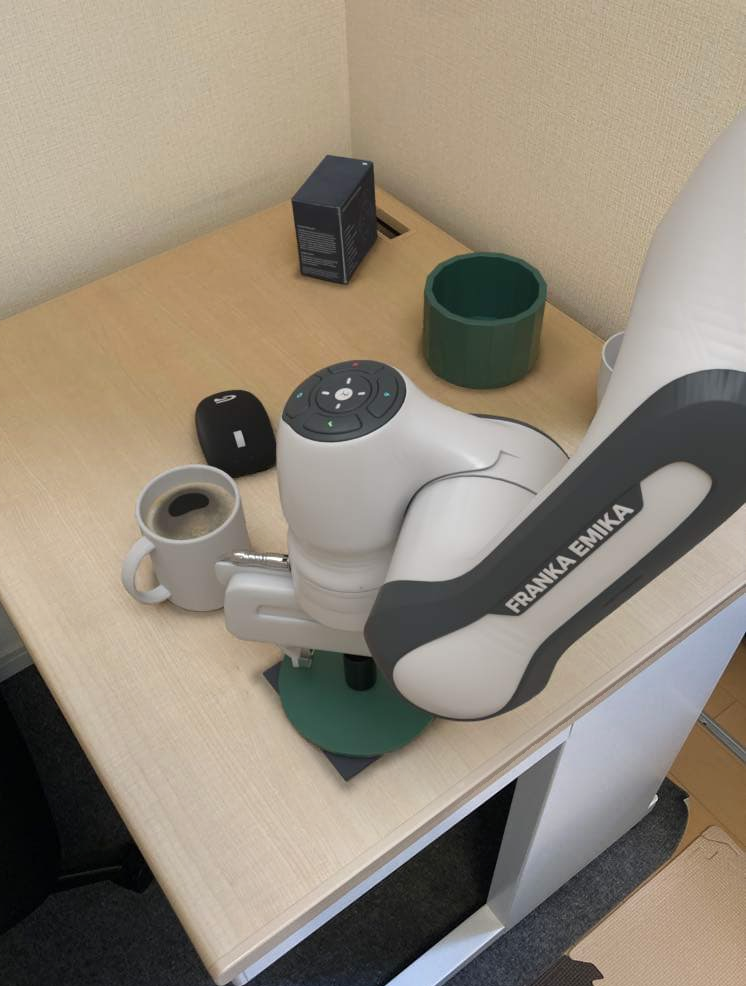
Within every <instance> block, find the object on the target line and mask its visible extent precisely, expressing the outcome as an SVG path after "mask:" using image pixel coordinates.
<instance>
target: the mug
mask: <svg viewBox="0 0 746 986" xmlns="http://www.w3.org/2000/svg"><path fill="white" fill-rule="evenodd" d="M134 513H135V518H136V521H137V524H138V527H139V530H140V533H141V535H142V537H140V538H139V539H138V540H136V542H135V543H133V545H132V546H131V547H130V548H129V550H128V551H127V552H126V553H127V554H126V556H125V558H124V560H123V564H122V567H121V582H122V583H121V584H122V585H123V588H124V590H125V591H126V592H127V593H128V594H129V595H130V596H131V597H132V598H133V599H134V600H135V601H136V602H138V603H139V604H141V605H145V606H146V605H147V606H151V605H156V604H160V603H163V602H164V601H166V600H168V601H169V602H171V603H172V604H173V605H175V606H177V607H179V608H180V609H184V610H186V611H193V612H210V611H215V610H216V611H217V610H219V609H222V608H224V598H225V593H226V588H225V587H223V586H222V585H221V584H220V583H219V582H218V580H217V576H216V572H215V566H214V563H215V560H216V559H217V558H218V556H221V555H223V554H229V553H231V552H232V550H235V549H245V550H250V551H251V552H253V551H252V546H251V542H250V537H249V531H248V526H247V522H246V518H245V517H246V516H245V512H244V507H243V502H242V497H241V493H240V489H239V486H238V485H237V483H236V482H235V480H234V478H231V477H230V476H229V475H228V474H226V473H225V472H223V471H222V470H220V469H217V468H215V467H212V466H208V464H200V463H199V464H198V463H197V464H196V463H193V464H191V463H190V464H183V465H178V466H174V467H172V468H169V469H166V470H164V471H163V472H161V473H159V474H157V475H155V477H153V478H151V479H150V480H149V481H148V482H147V483H146V484H145V485H144V487H143V488H142V489H141V491H140V492H139V494H138V496H137V500H136V503H135V509H134ZM147 555H148V556H149V559H150V561H151V564H152V567H153V570H154V573H155V576H156V578H157V581H158V584H159V585H158V586H156V587H155V588H153V589H150V590H147V591H141V590H138V589H137V586H136V576H137V572H138V570H139V567H140V565H141V564H142V562H143V560H144V559H145V558H146V556H147Z"/></svg>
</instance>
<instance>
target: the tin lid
mask: <svg viewBox="0 0 746 986" xmlns="http://www.w3.org/2000/svg"><path fill="white" fill-rule="evenodd" d="M282 660H283V661H282ZM282 660H281V661H282V664H281V667H280V672H279V683H278V687H279V694H278V696H279V695H280V696H279V700H280V702H281V707H282V709H283V712H284V714H285V716H286V718H287V720H288V721H289V723H290V724H291V726H292V728H294V730H296V732H297V733H298V734H299V735H301V737H303V738H304V739H305V740H306V741H307V742H309V743H310V744H312V745H314V746H315V747H317V748H319V749H320V748H321V749H323V750H325V751H328V752H331V753H334V754H337V755H342V756H347V757H358V758H359V757H373V756H379V755H383V754H385V755H386V754H390V753H393V752H395V751H398V750H400V749H402V748H404V747H405V746H407V745H409V744H411V743H412V742H414V741H415V740H416V739H417V738H419V737H420V736H421V735H422V734H423V733H424V732H425V731H426V730H427V729H428V728H429V727H430V725H431V724H432V722H433V721H434V720H433V719H434V718H435V717H433V716H430V715H428V714H425V713H423V712H421V711H418V710H417V709H415V708H413V707H411V706H410V705H408V704H407V703H406V702H404V701H403V700H402V699H401V698H400V697H399V696H398V695H397V694H396V693H395V691H394V690H393V689H392V688H391V687H390V685H389V684H388V682H387V681H386V680H385V678H384V677H383V675H382V674H381V672H380V670H379V668H378V667H377V665H376V663H375V661H374V659H373V657H370V656H362V655H355V654H347V653H339V652H332V651H324V650H316V649H315V653H314V659H313V660H312V667H311V669H308V668H299V667H293V664H292V658H291V657H289V656H288V655H286V654H285V653H284V655H283V658H282ZM321 749H320V750H321ZM383 756H384V755H383Z"/></svg>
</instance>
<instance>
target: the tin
mask: <svg viewBox="0 0 746 986" xmlns="http://www.w3.org/2000/svg"><path fill="white" fill-rule="evenodd" d="M547 292H548V283H547V282H546V280H545V278H544V276H543V275H542V273H541V272H540V270H539V269H538V268H536V267H535V266H533V265H532V264H530V263H529V262H527V261H526V260H524V259H523V258H520V257H516V256H513V255H509V254H507V253H504V252H492V251H491V252H490V251H475V252H469V253H463V254H456V255H454V256H452V257H450V258H448V259H445V260H444V261H441V262H440V263H438V264H437V265H436V266H435V267H434V268H433V269H432V270H431V272H429V274H427V276H426V278H425V284H424V289H423V313H422V314H423V317H422V318H423V319H422V352H423V357H424V361H425V362H426V365H427V366H428V367H429V369H430V370H431V371H432V372H433V373H434V374H435V375H436V376H438V377H439V378H441V379H442V380H444V381H446V382H448V383H450V384H453V385H455V386H459V387H462V388H467V389H476V390H487V389H489V390H490V389H497V388H501V387H506V386H509V385H511V384H515V382H518V381H519V380H521V379H523V378H524V377H525V376H526V375H527V374H529V373H530V371H532V369H533V367H534V366H535V364H536V362H537V360H538V355H539V348H540V344H541V343H540V340H541V336H542V329H543V322H544V316H545V310H546V304H547V303H546V302H547V294H548V293H547Z"/></svg>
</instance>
